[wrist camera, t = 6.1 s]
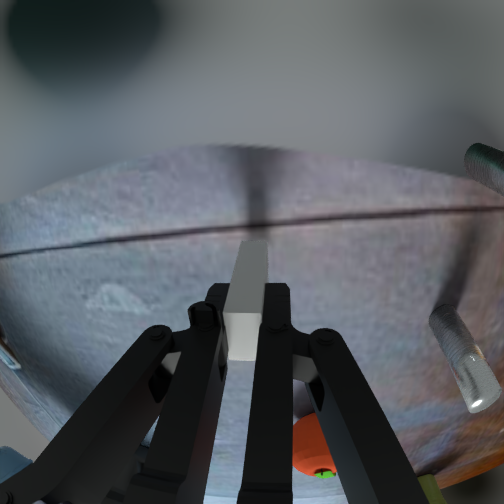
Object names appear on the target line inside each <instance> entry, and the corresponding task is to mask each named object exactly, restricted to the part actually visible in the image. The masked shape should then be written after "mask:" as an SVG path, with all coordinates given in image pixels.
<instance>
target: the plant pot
mask: <svg viewBox="0 0 504 504" xmlns="http://www.w3.org/2000/svg"><path fill="white" fill-rule="evenodd" d="M417 479H418V481H419V483H420V485H421V487H422V489H423V491H424V493H425V495H426V497H427V499H428V501H429V503H430V504H447V503H446V501H445V499H443V496H442V494H441V492H440V489H439V487H438V484H437V482H436V480H435V477H434V475H431V474H427V475H423V476H419V477H417Z"/></svg>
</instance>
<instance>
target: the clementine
mask: <svg viewBox="0 0 504 504" xmlns="http://www.w3.org/2000/svg"><path fill="white" fill-rule="evenodd" d="M293 466H294V467H295V468H296V469H297V470H298V471H300V472H302V473H304V474H307V475H309V476H317V477H319V478H329V477H333V476H336V472H337V470H336V467H335V465H334V462H333V459H332V456H331V454H330V451H329V448H328V446H327V443H326V440H325V437H324V435H323V432H322V429H321V427H320V424H319V421H318V418H317V416H316V413H312V414H309V415H307V416H304V417H303V418H301V419H299V420H298V421H297V422H296V423H295V424H294V425H293Z"/></svg>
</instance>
